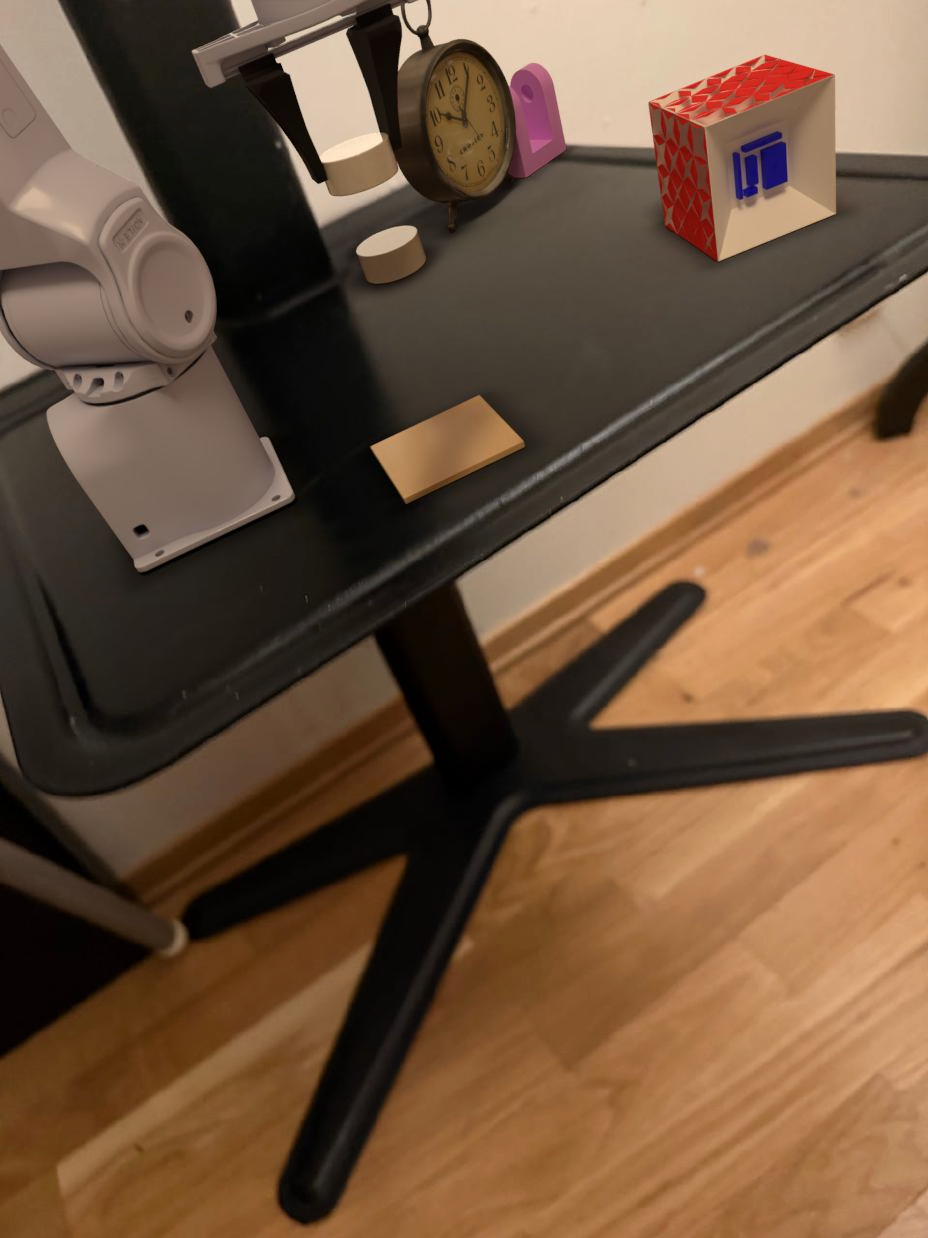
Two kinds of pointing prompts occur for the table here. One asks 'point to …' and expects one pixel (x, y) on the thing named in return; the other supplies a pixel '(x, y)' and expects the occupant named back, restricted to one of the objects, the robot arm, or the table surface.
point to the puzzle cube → (746, 154)
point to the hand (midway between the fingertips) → (357, 162)
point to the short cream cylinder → (359, 164)
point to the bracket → (535, 120)
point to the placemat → (445, 448)
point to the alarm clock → (454, 121)
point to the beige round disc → (391, 254)
